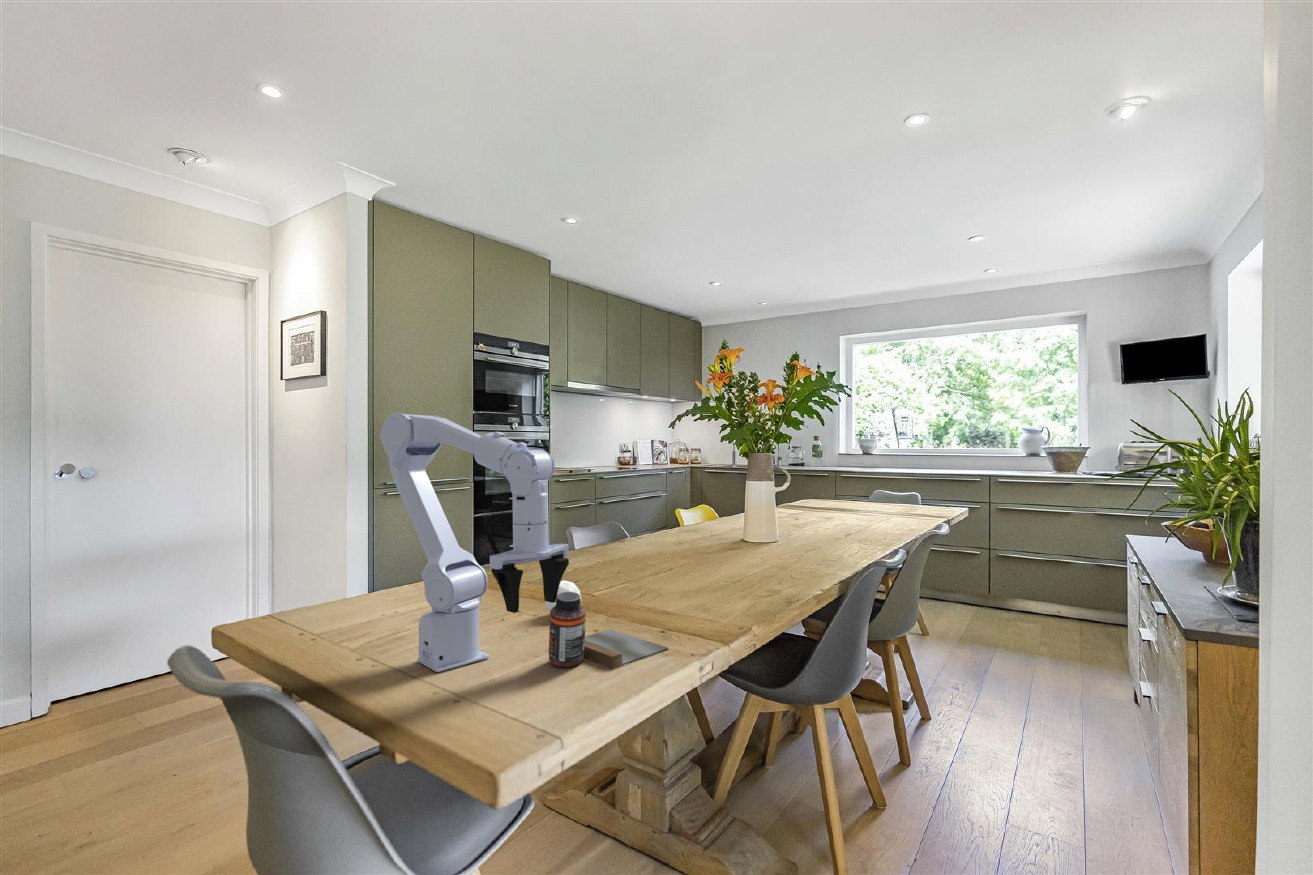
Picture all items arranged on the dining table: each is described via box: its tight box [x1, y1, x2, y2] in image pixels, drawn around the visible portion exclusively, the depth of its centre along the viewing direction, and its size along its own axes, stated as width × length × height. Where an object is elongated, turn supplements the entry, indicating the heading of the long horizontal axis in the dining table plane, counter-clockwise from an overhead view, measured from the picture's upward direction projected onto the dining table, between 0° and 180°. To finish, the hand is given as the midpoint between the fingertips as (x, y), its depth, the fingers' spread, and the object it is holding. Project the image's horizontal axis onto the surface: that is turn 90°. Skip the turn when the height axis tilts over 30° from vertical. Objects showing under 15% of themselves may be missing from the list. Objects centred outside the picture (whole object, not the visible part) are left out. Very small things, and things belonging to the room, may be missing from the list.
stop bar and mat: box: [583, 629, 669, 670], centre depth 107 cm, size 13×16×2 cm
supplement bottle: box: [548, 592, 587, 668], centre depth 100 cm, size 6×6×11 cm
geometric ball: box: [544, 580, 582, 613], centre depth 128 cm, size 8×8×8 cm
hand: (531, 606), depth 97 cm, fingers open, 7 cm apart
